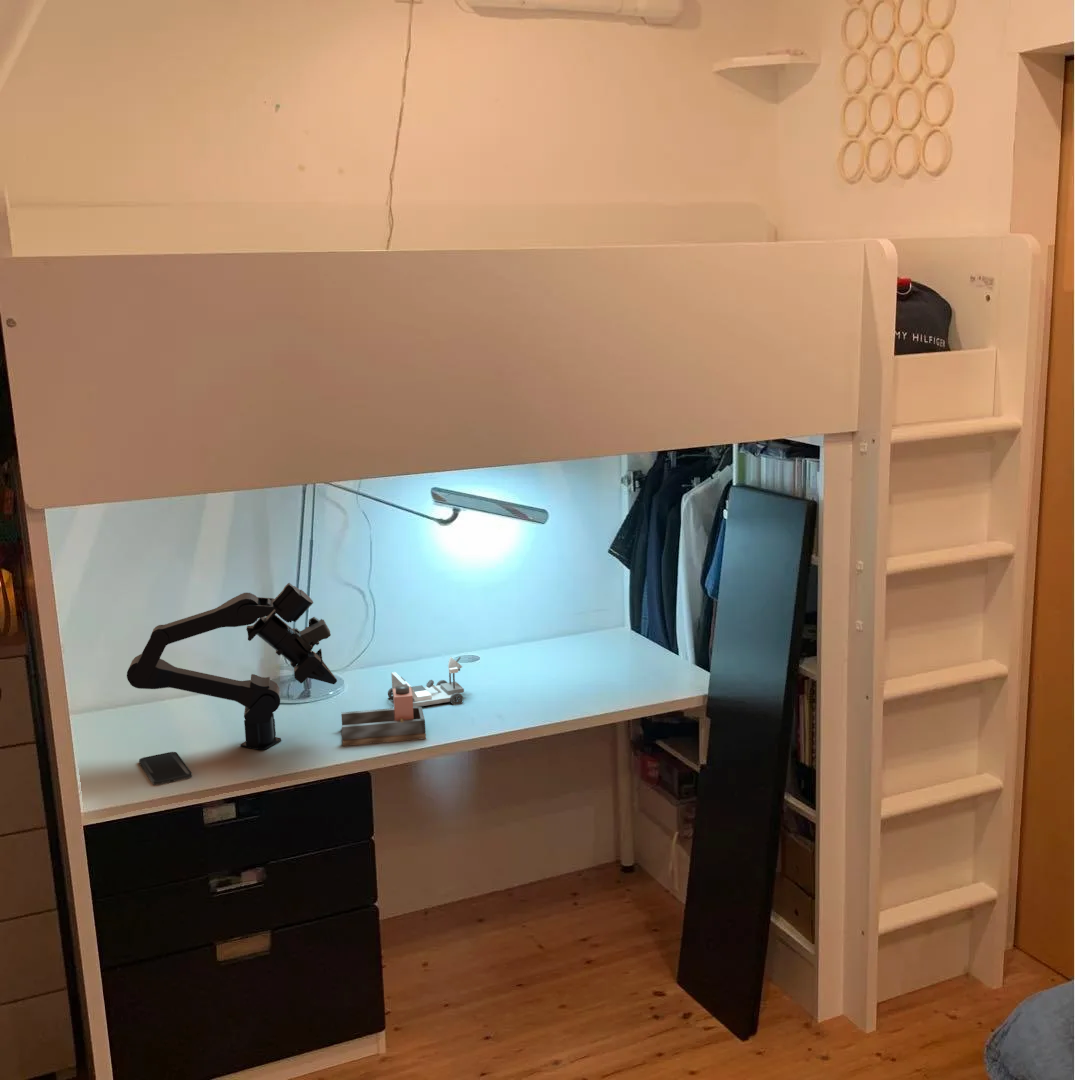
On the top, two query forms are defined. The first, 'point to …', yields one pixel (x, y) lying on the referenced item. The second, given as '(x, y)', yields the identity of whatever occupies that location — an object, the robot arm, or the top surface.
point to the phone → (165, 768)
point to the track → (381, 726)
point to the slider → (403, 703)
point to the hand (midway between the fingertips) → (335, 682)
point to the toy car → (433, 688)
